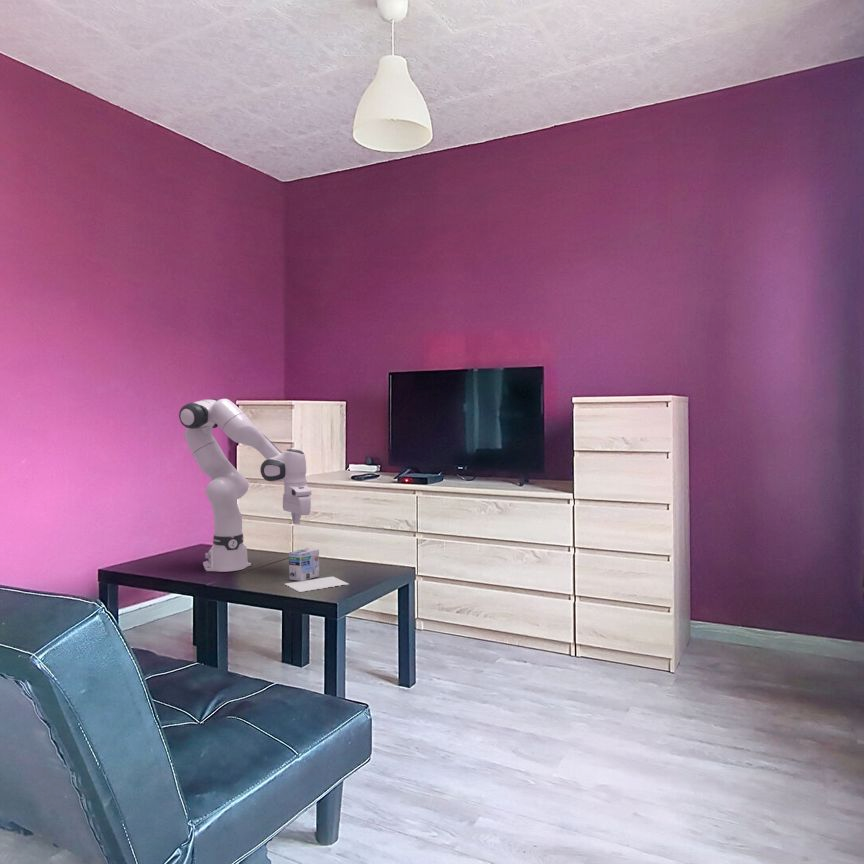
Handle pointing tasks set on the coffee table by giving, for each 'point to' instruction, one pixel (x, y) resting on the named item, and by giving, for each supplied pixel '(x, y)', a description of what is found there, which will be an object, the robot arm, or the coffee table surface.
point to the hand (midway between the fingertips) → (296, 524)
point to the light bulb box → (303, 564)
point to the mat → (316, 584)
